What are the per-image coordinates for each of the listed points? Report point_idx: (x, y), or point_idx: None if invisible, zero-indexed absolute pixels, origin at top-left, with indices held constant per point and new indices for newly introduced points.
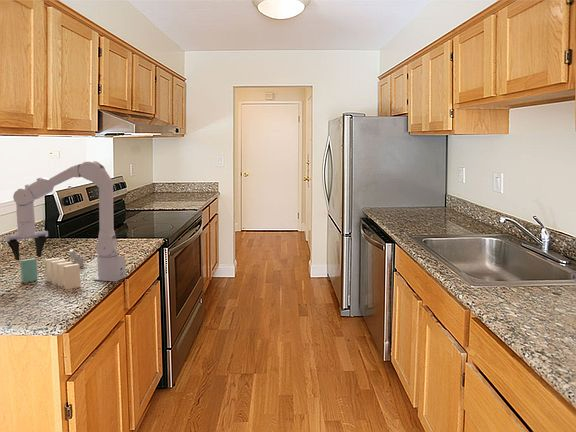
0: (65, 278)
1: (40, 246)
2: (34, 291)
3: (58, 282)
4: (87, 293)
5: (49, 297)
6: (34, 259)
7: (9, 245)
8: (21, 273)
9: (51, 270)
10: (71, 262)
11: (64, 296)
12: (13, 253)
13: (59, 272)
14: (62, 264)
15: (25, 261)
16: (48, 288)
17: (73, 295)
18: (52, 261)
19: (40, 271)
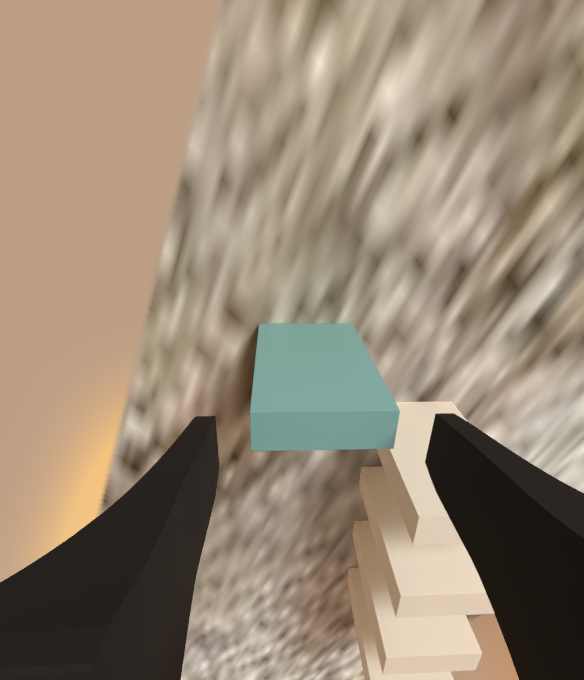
0: (357, 633)
1: (497, 603)
2: (231, 536)
3: (357, 544)
4: None
5: (242, 626)
6: (373, 446)
7: (41, 572)
8: (256, 352)
9: (380, 538)
10: (467, 670)
11: (288, 641)
12: (159, 464)
13: (370, 614)
14: (406, 668)
15: (283, 443)
16: (300, 531)
17: (316, 647)
18: (414, 598)
19: (525, 79)
